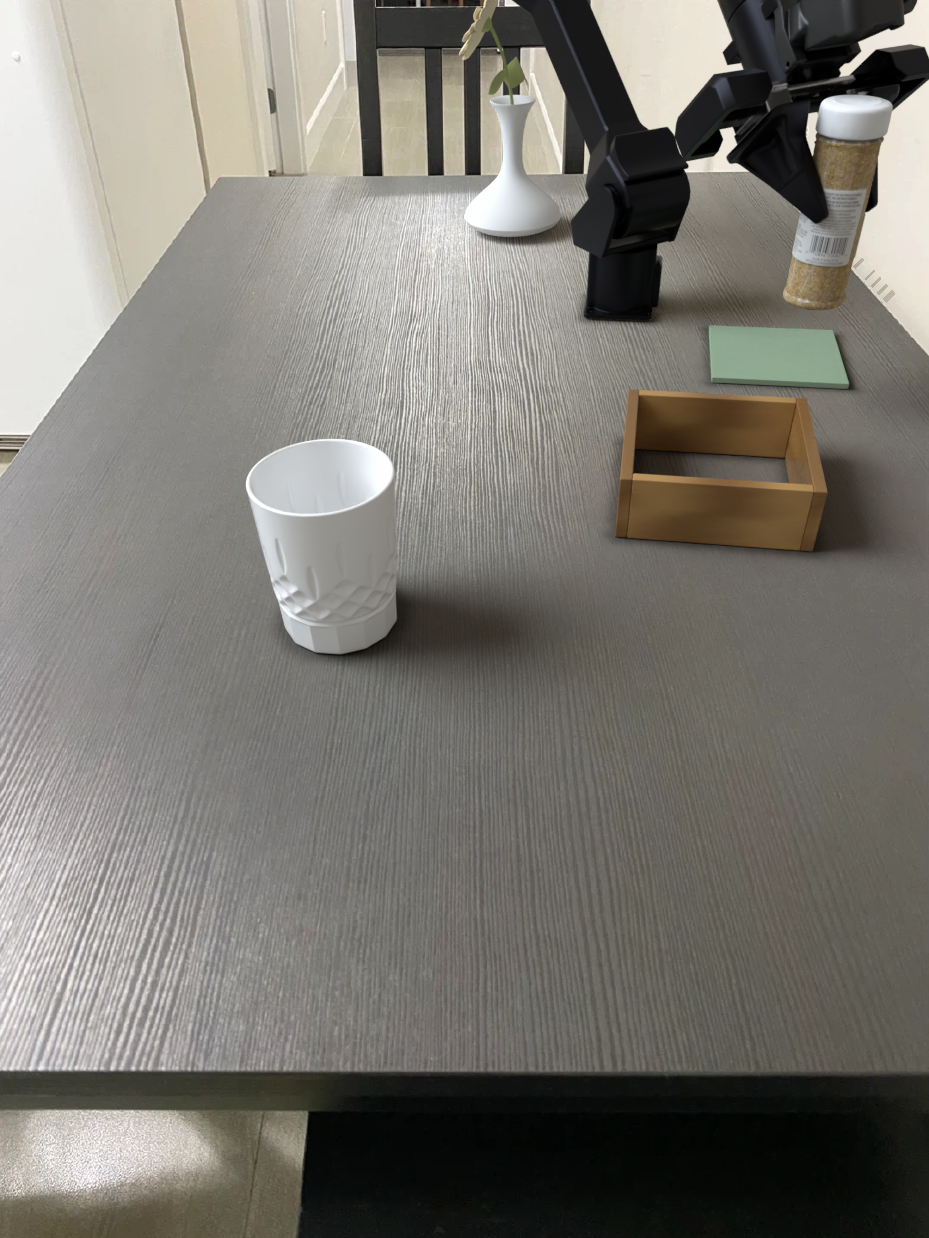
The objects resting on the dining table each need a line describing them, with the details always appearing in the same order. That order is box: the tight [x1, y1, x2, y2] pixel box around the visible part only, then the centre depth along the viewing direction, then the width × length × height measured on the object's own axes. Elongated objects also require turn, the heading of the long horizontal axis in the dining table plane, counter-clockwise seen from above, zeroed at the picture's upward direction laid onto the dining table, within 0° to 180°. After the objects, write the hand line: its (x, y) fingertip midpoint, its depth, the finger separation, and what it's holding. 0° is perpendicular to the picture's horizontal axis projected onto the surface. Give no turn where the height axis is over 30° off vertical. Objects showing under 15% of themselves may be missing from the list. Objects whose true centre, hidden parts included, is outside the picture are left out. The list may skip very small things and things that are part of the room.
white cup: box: [245, 438, 399, 655], centre depth 53 cm, size 8×8×10 cm
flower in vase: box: [458, 0, 562, 238], centre depth 103 cm, size 13×11×25 cm
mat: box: [708, 324, 850, 390], centre depth 82 cm, size 11×11×1 cm
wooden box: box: [614, 389, 829, 552], centre depth 64 cm, size 13×13×4 cm
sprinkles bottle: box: [782, 95, 893, 311], centre depth 66 cm, size 5×5×14 cm
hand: (846, 215), depth 65 cm, fingers closed on sprinkles bottle, 4 cm apart
